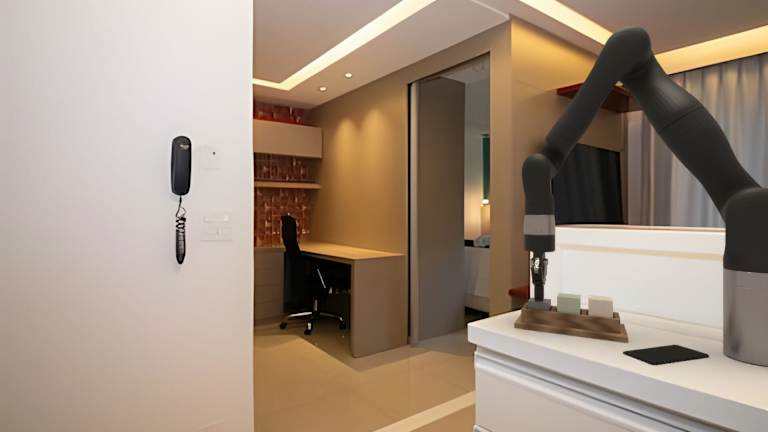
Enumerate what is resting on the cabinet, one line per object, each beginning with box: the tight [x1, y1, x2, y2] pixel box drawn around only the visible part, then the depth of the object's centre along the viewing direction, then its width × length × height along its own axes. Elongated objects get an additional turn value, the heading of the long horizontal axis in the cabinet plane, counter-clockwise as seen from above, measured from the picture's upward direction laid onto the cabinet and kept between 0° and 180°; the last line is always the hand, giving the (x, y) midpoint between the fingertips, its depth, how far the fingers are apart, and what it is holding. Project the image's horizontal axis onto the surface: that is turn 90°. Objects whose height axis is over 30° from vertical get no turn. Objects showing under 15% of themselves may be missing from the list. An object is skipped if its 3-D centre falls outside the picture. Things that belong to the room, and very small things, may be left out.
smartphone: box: [622, 344, 710, 366], centre depth 77 cm, size 7×1×15 cm
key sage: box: [556, 292, 582, 314], centre depth 95 cm, size 5×5×5 cm
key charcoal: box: [527, 297, 552, 311], centre depth 99 cm, size 5×5×5 cm
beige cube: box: [587, 294, 614, 318], centre depth 92 cm, size 5×5×5 cm
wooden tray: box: [513, 302, 629, 344], centre depth 95 cm, size 24×12×4 cm, turn 61°
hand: (539, 300), depth 99 cm, fingers closed
